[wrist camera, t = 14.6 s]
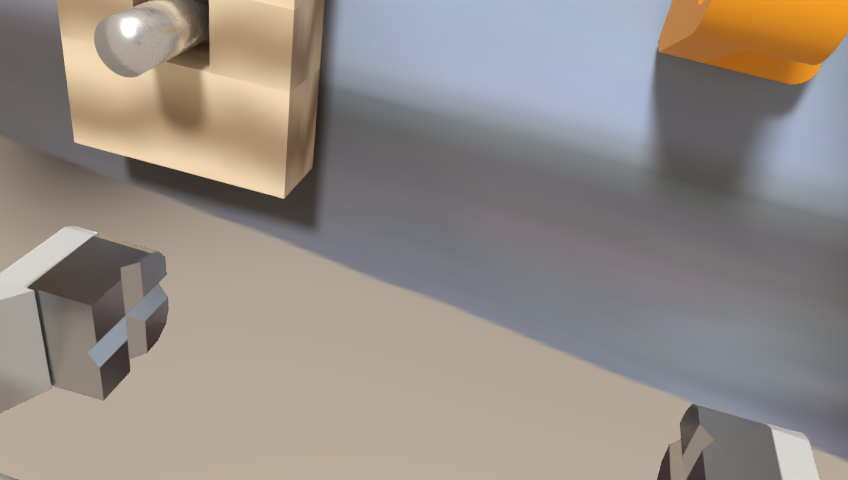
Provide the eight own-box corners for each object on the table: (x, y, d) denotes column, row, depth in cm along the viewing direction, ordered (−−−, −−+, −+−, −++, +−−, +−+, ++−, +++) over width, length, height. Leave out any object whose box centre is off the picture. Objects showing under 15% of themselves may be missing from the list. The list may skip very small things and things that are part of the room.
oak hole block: (91, -191, 39) (32, -192, 35) (335, -142, 37) (301, -137, 33) (118, 116, 48) (74, 142, 45) (312, 167, 46) (284, 198, 43)
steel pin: (188, -26, 42) (91, 10, 34) (235, -15, 42) (147, 24, 34) (189, 25, 44) (96, 69, 36) (235, 36, 43) (150, 83, 36)
